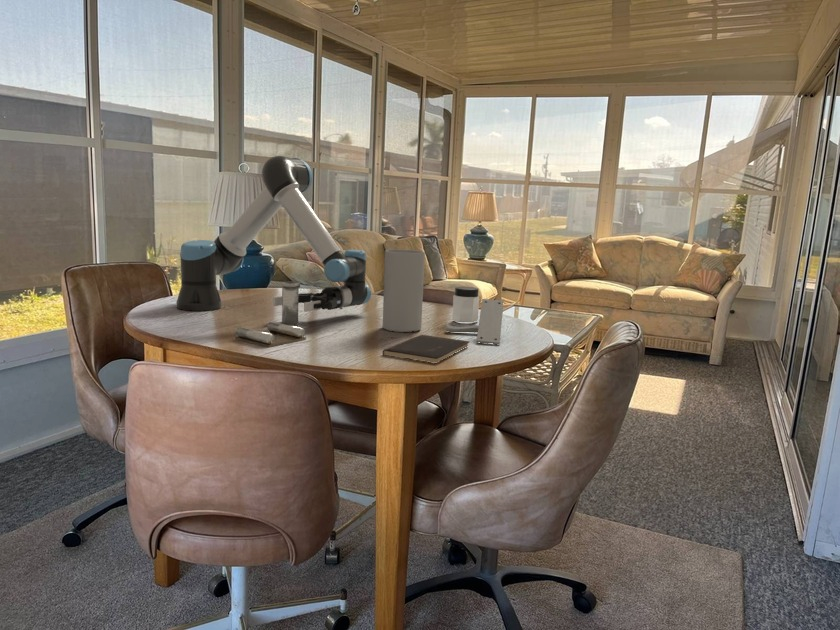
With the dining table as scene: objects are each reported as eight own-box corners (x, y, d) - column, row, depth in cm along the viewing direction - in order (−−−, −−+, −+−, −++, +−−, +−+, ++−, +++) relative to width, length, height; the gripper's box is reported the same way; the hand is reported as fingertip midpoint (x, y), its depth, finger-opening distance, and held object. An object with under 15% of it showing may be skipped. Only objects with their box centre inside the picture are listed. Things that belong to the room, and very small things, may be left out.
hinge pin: (276, 326, 198) (276, 282, 196) (290, 324, 203) (290, 281, 201) (289, 329, 195) (290, 284, 193) (303, 327, 200) (304, 283, 197)
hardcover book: (469, 349, 183) (469, 341, 182) (437, 366, 162) (437, 357, 162) (418, 341, 189) (419, 334, 189) (382, 357, 169) (382, 349, 168)
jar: (476, 320, 225) (478, 287, 223) (478, 324, 217) (481, 290, 215) (451, 319, 225) (453, 285, 222) (452, 323, 217) (454, 289, 214)
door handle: (497, 362, 191) (501, 319, 206) (499, 342, 186) (503, 300, 201) (440, 356, 194) (448, 314, 209) (440, 336, 188) (448, 295, 203)
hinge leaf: (234, 339, 179) (234, 327, 179) (273, 331, 191) (273, 320, 190) (268, 347, 171) (268, 335, 171) (306, 339, 183) (306, 327, 182)
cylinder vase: (384, 332, 197) (387, 252, 192) (380, 324, 209) (383, 249, 205) (424, 333, 199) (427, 253, 195) (418, 325, 211) (421, 250, 207)
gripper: (363, 313, 208) (318, 321, 191) (308, 303, 222) (261, 310, 205) (364, 290, 207) (318, 297, 189) (309, 282, 220) (261, 287, 203)
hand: (289, 304), depth 197 cm, fingers open, 13 cm apart
